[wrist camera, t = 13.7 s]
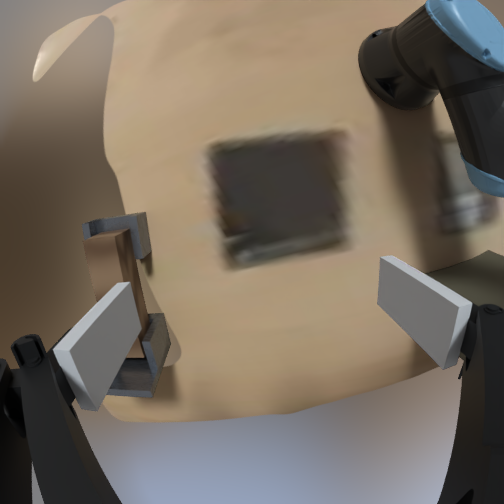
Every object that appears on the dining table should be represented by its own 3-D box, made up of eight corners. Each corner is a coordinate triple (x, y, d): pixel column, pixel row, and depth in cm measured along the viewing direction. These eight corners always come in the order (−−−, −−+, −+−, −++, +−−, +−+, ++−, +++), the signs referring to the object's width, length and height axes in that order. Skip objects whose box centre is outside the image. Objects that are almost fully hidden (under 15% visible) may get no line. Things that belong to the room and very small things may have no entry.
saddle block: (94, 219, 41) (81, 224, 36) (145, 211, 41) (136, 215, 37) (101, 256, 42) (89, 264, 38) (151, 250, 42) (143, 258, 38)
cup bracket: (115, 315, 45) (81, 360, 31) (163, 313, 45) (140, 362, 32) (124, 344, 46) (96, 393, 33) (171, 343, 47) (152, 397, 33)
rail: (101, 232, 39) (82, 241, 33) (130, 228, 39) (114, 236, 34) (126, 337, 44) (114, 357, 38) (153, 337, 44) (144, 357, 38)
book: (414, 318, 49) (500, 405, 22) (415, 274, 47) (521, 351, 20) (485, 289, 48) (569, 344, 21) (488, 250, 46) (583, 295, 19)
